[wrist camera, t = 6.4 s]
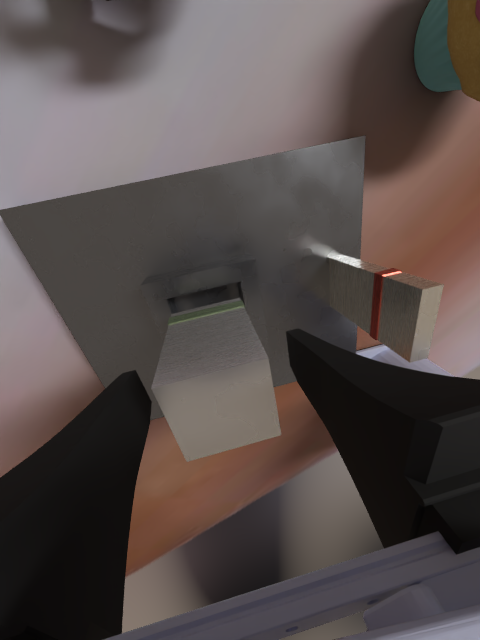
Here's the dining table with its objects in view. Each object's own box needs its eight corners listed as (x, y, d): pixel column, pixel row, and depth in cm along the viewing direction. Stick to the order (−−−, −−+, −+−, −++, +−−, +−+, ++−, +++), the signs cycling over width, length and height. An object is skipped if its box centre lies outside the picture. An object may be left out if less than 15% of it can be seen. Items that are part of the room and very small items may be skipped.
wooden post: (251, 353, 15) (282, 435, 10) (190, 369, 15) (185, 462, 9) (240, 296, 13) (269, 356, 8) (170, 313, 13) (149, 387, 7)
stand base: (349, 359, 23) (430, 438, 15) (131, 417, 22) (90, 538, 14) (355, 140, 15) (535, 55, 7) (10, 210, 14) (-259, 207, 6)
